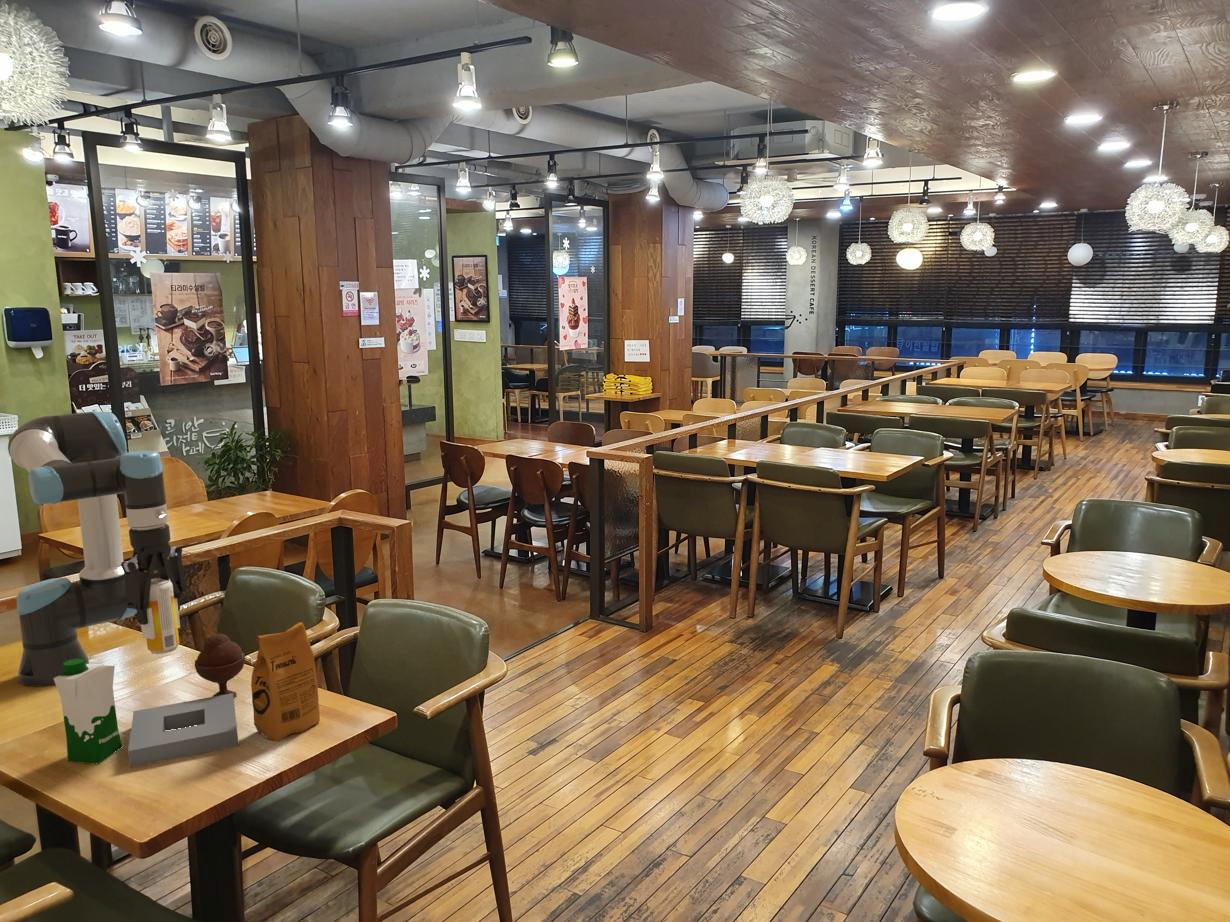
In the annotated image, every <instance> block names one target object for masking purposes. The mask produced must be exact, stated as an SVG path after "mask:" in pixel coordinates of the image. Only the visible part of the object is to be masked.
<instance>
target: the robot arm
mask: <svg viewBox="0 0 1230 922" xmlns="http://www.w3.org/2000/svg"><path fill="white" fill-rule="evenodd" d="M7 451H8V455H9V457H10V458H11V460H12V461H13V462H14V464H16V465H17V466H18V467H20V468H22V469H24V470H27V472H28V479H27V480H28V487H29V488H28V489H29V492H30V496H31V499H32V501H33V502H34V503H35V504H36V505H45V504H46V505H47V504H53V505H54V504H60V503H64V502H70V501H77V505H78V515H79V525H80V533H81V541H82V542H81V543H82V550H83V551H82V552H83V559H84V567H83V568H82V569H81V570H80V571H79V573H78V577H79V580H77V581H75V582H73V581H72V582H71V580H70V579H69V578H67V577H57V578H49V579H45V580H42V581H41V580H40V581H38V582H36V583H34V584H33V583H32V584H30V585H29V586H26V587H25V588H23V589H22V590H20V591H19V592H18V594H17V596H16V608H17V609H16V614H17V615H18V621H19V626H20V628H19V629H20V635H21V641H22V642H21V643H22V649H23V650H22V654H21V659H20V662H19V663H20V664H19V667H18V672H17V675H18V681H19V683H20V684H21V685H23V686H28V687H45V686H50V685H51V686H52V685H56V684H55V682H54V678H55V677H57V676H58V675H60V674H62V673H63V672H64V671H63V662H65V661H67V660H70V659H74V658H85V660H86V664H90V661H89V660H90V659H89V657H88V655H87V654H86V652H85V650H84V648H83V646H82V645H81V643H80V641H79V638H78V633H77V632H78V631H77V630H78V629H82V628H88V627H92V626H96V625H100V624H106V623H111V622H115V621H121V620H123V619H126V618H131V617H133V616H135V615H136V614H137V615H136V617H137V622H138V625H140V627H141V628H140V629H141V635H142V639H146V638H147V639H154V638H155V631H154V623H153V615H152V608H148V602H149V594H150V586H151V579H153V576H154V575H155V571H156V572H157V573H158V576H159V578H161V579H165V580H168V579H170V581H171V583H172V584H173V593H174V601H175V610H176V618H177V626H178V629H180V628H181V620H180V613H179V612H180V610H181V604H180V598H182V597H183V595H184V594H183V593H185V592H186V591H187V585H186V579H185V572H184V564H183V560H182V555H183V554H182V553H183V548H182V547H181V546H172V545H170V541H171V539H172V538H171V532H170V531H171V530H170V526H169V525H168V524H167V523H168V521H169V516H168V507H167V499H166V491H165V483H164V482H165V481H164V474H163V473H164V472H163V471H164V465H163V463H162V459H161V454H160V453H159V452H158V451H156V450H148V449H147V450H136V451H135V450H134V451H130V452H129V451H128V447H127V441H126V438H125V434H124V430H123V428H122V425H121V423H120V421H119V419H118V417H117V416H116V415H115V414H114V413H113V412H110V411H87V412H76V413H68V414H57V415H46V416H41V417H37V418H34V419H33V418H32V419H31V420H29V421H27V422H25V423H23V424H22V425H20V426H19V427H18V428H17V429H16V430H15V431H14V432H13V433H12V434H11V436H10V437H9V440H8V443H7ZM120 494H123V495H124V496H123V497H124V501H125V510H126V511H125V512H126V523H127V526H128V527H129V530H128V534H129V544H130V546H131V548H132V549H133V552H132V558H130V559H128V560H127V561H124V554H123V552H124V551H123V544H122V534H121V533H122V532H121V524H120V514H119V513H120V512H119V507H118V495H120ZM147 639H146V640H147Z"/></svg>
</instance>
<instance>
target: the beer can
mask: <svg viewBox="0 0 1230 922" xmlns="http://www.w3.org/2000/svg"><path fill="white" fill-rule="evenodd" d="M148 608H152V615H153V623H154V631H155V638H154V639H147V638H145V639H146V644H147V650H148V651H149V652H150V653H151V654H154V655H163V654H164V655H165V654H168V653H171V652H174V651H176V650H177V649H178V646H179V645H180V636H179V628H178V626H177V618H176V610H175V601H174V593H173V584H172V583H171V581H170V579H168V580H165V579H161V578H160V577H155V578H152V579H151V586H150V594H149V602H148Z"/></svg>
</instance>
